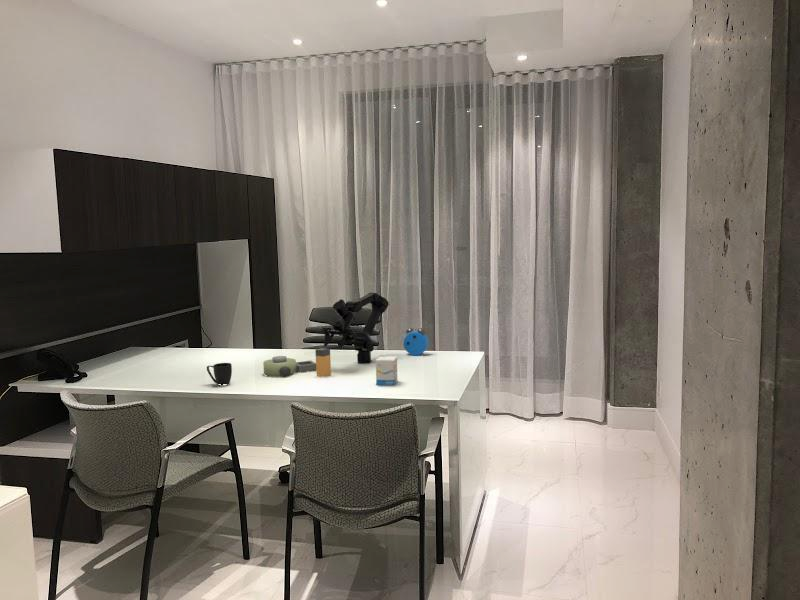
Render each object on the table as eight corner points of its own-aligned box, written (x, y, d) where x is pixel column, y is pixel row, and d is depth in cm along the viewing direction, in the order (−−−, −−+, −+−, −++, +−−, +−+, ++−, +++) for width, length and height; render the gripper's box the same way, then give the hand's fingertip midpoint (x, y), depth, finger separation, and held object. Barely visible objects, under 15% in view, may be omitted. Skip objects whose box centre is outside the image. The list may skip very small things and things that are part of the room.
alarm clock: (429, 353, 362) (428, 327, 360) (426, 356, 356) (425, 329, 354) (406, 353, 366) (405, 327, 364) (403, 355, 360) (402, 328, 358)
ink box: (394, 385, 293) (393, 360, 291) (376, 385, 294) (375, 359, 293) (398, 381, 301) (397, 356, 300) (380, 380, 303) (379, 356, 302)
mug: (213, 381, 311) (211, 362, 310) (235, 382, 308) (234, 362, 307) (203, 386, 303) (202, 366, 302) (227, 386, 300) (225, 366, 299)
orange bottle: (323, 373, 321) (322, 347, 319) (331, 374, 318) (330, 348, 317) (316, 375, 317) (315, 349, 315) (324, 376, 314) (323, 350, 312)
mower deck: (308, 365, 342) (307, 350, 341) (320, 372, 324) (319, 356, 323) (259, 371, 330) (258, 355, 330) (269, 379, 313) (268, 362, 312)
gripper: (323, 311, 329) (309, 336, 321) (352, 313, 319) (338, 338, 311) (333, 324, 337) (320, 349, 329) (362, 326, 326) (349, 352, 318)
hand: (331, 347), depth 322 cm, fingers open, 9 cm apart
